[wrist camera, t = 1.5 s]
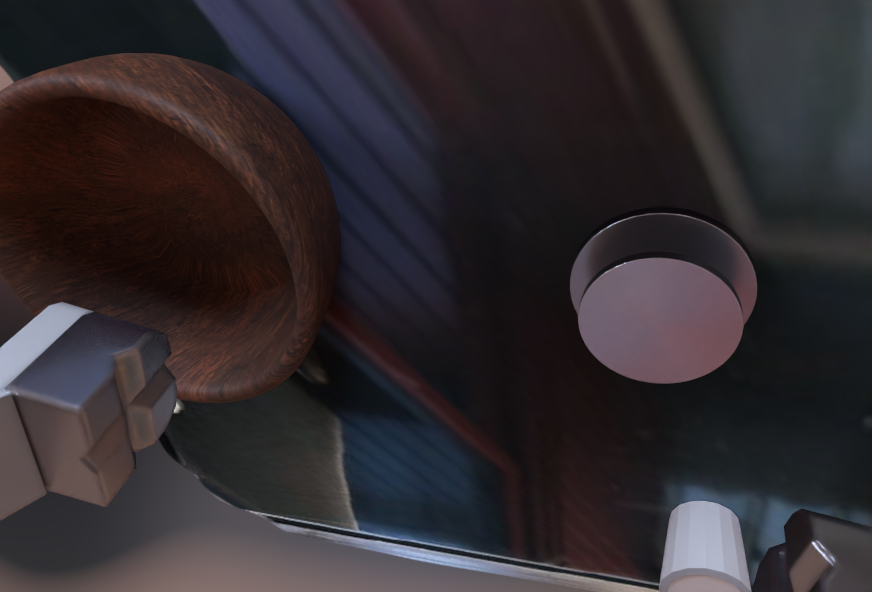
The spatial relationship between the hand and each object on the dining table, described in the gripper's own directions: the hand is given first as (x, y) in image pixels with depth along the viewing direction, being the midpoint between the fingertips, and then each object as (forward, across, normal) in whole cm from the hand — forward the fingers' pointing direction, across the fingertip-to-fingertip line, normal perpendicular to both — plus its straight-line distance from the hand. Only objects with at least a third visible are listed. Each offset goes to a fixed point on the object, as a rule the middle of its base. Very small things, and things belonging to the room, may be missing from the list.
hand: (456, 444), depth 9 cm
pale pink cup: (+37, -18, +44) cm, 60 cm away
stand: (+37, -8, +21) cm, 43 cm away
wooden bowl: (+37, +26, +22) cm, 50 cm away
